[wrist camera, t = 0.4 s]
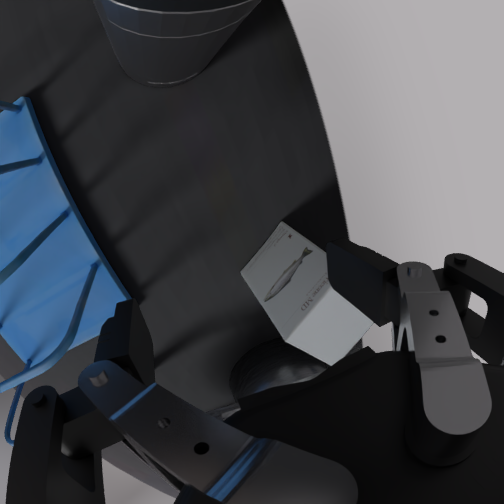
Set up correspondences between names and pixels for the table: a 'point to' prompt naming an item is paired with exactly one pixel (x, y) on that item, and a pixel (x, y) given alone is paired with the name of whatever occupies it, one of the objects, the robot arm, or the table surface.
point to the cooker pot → (270, 371)
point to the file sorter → (44, 256)
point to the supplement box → (303, 296)
